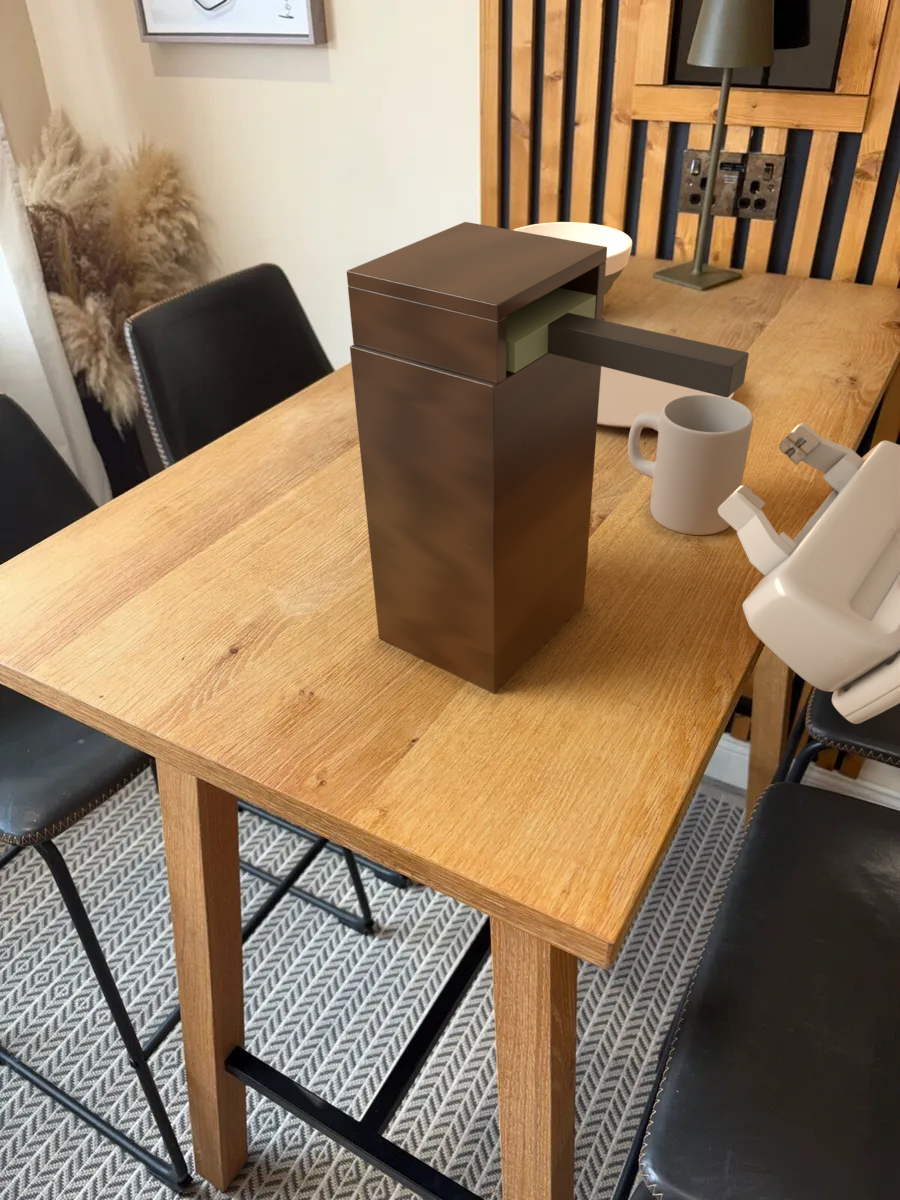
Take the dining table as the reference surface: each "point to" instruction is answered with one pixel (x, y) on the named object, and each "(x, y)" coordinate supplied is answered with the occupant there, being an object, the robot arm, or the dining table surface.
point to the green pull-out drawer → (617, 345)
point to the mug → (693, 460)
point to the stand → (473, 447)
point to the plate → (634, 397)
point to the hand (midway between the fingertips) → (760, 463)
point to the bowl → (591, 242)
